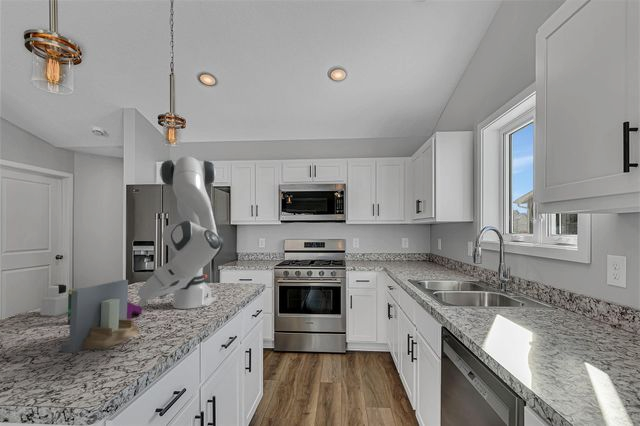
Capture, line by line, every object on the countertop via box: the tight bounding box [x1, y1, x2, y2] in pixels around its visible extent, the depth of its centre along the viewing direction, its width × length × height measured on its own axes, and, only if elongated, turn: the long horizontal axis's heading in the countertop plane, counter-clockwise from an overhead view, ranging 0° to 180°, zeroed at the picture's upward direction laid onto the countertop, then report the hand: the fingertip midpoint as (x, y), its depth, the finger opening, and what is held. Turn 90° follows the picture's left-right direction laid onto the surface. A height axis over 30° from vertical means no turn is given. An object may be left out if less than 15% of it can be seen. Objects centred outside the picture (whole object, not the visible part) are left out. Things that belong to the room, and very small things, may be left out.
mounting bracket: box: [127, 301, 143, 319], centre depth 121 cm, size 9×8×18 cm
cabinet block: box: [100, 299, 120, 332], centre depth 100 cm, size 4×3×10 cm
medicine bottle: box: [40, 284, 68, 317], centre depth 130 cm, size 7×7×12 cm
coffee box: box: [67, 288, 82, 326], centre depth 118 cm, size 8×3×13 cm, turn 126°
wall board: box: [59, 279, 129, 353], centre depth 101 cm, size 20×5×18 cm, turn 172°
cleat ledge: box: [84, 318, 139, 351], centre depth 100 cm, size 14×7×6 cm, turn 172°
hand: (151, 300), depth 100 cm, fingers open, 8 cm apart
